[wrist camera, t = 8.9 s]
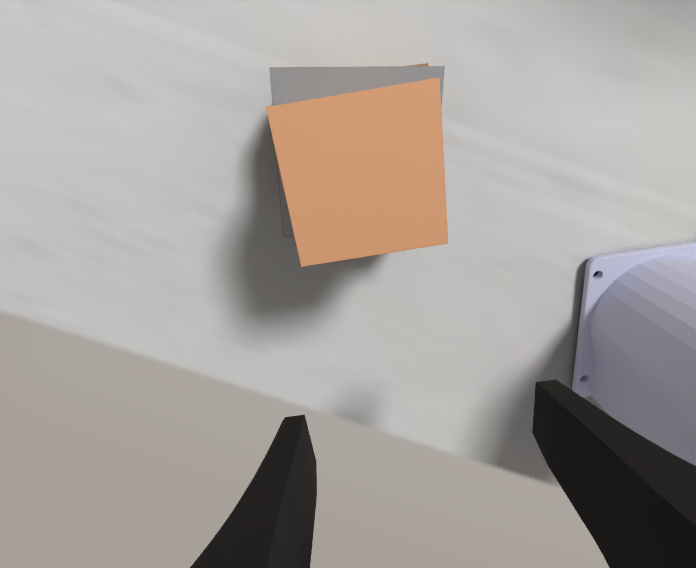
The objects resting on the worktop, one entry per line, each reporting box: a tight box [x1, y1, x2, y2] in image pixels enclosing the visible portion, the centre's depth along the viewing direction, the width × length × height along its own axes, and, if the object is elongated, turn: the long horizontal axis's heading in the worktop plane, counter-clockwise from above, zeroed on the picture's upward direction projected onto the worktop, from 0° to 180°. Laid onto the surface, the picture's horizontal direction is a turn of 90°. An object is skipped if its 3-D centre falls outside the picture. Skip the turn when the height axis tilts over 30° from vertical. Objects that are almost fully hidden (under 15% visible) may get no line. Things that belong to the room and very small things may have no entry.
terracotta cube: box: [266, 77, 448, 267], centre depth 13 cm, size 4×4×4 cm
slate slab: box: [270, 66, 445, 237], centre depth 16 cm, size 6×6×2 cm
